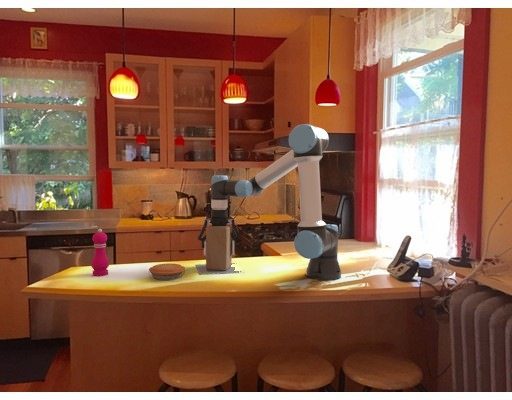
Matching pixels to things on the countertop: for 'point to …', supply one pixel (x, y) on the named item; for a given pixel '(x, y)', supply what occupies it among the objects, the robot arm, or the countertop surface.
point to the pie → (167, 271)
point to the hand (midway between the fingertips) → (219, 254)
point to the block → (218, 247)
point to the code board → (203, 270)
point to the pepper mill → (100, 254)
